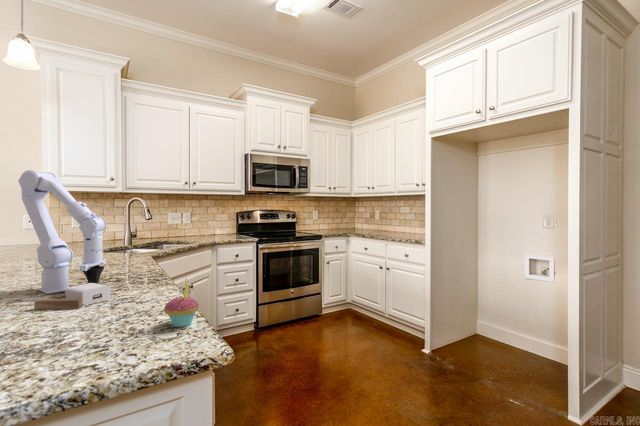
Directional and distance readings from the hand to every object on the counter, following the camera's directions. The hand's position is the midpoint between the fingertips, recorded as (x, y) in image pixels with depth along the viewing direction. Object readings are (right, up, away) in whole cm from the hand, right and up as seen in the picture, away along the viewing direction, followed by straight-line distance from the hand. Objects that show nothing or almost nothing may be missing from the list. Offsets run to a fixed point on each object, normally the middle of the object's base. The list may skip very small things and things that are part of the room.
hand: (93, 286), depth 124 cm
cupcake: (+46, -3, -33) cm, 57 cm away
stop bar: (+3, -2, -21) cm, 21 cm away
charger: (+3, -2, -10) cm, 11 cm away
